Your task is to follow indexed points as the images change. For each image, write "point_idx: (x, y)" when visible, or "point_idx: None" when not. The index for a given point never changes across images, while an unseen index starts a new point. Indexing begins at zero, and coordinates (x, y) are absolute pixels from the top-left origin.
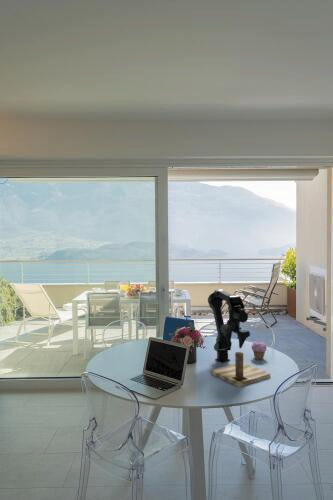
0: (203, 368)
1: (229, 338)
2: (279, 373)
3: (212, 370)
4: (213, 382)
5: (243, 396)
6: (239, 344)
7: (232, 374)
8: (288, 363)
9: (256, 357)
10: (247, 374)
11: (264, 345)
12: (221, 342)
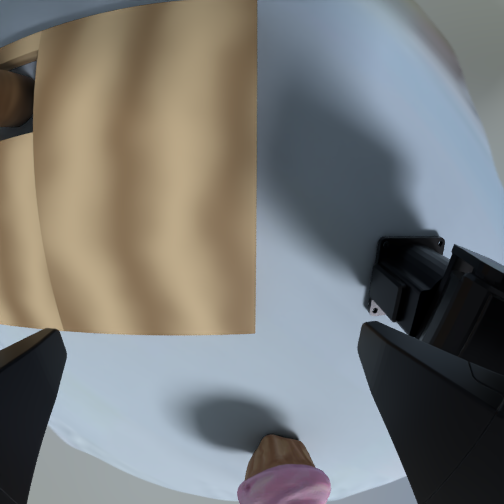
0: (375, 49)
1: (410, 420)
2: None
3: (242, 3)
4: None
5: None
6: (1, 358)
7: (70, 88)
8: (143, 474)
9: (269, 440)
10: (19, 193)
11: None
12: (490, 303)
